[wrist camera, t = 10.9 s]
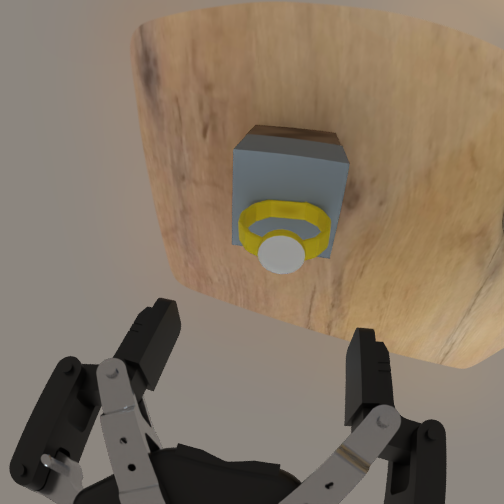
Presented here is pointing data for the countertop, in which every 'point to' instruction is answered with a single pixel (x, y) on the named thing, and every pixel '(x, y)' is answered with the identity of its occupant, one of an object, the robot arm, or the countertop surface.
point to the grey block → (288, 182)
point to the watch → (283, 234)
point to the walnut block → (296, 134)
